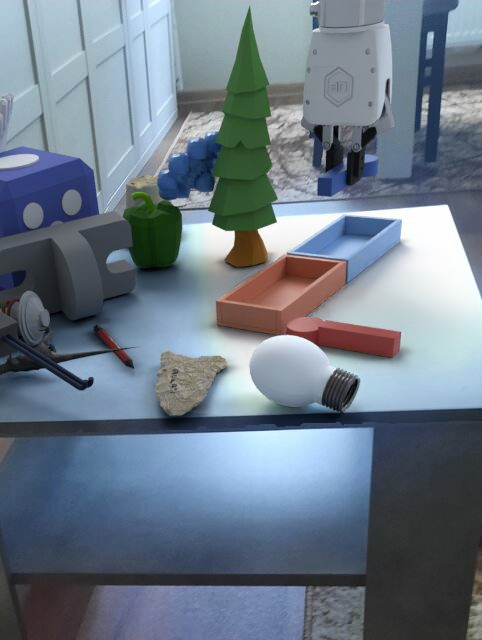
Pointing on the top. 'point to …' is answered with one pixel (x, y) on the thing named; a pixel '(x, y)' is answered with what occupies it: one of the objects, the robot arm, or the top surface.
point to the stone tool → (185, 380)
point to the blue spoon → (343, 176)
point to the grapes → (190, 169)
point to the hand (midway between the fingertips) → (344, 181)
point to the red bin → (280, 293)
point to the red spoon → (346, 336)
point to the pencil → (113, 346)
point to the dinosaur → (28, 365)
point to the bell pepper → (154, 232)
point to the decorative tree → (244, 156)
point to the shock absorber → (27, 316)
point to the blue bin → (352, 241)
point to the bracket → (70, 264)
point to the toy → (39, 189)
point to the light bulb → (300, 374)
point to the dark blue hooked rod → (34, 353)
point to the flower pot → (142, 190)
